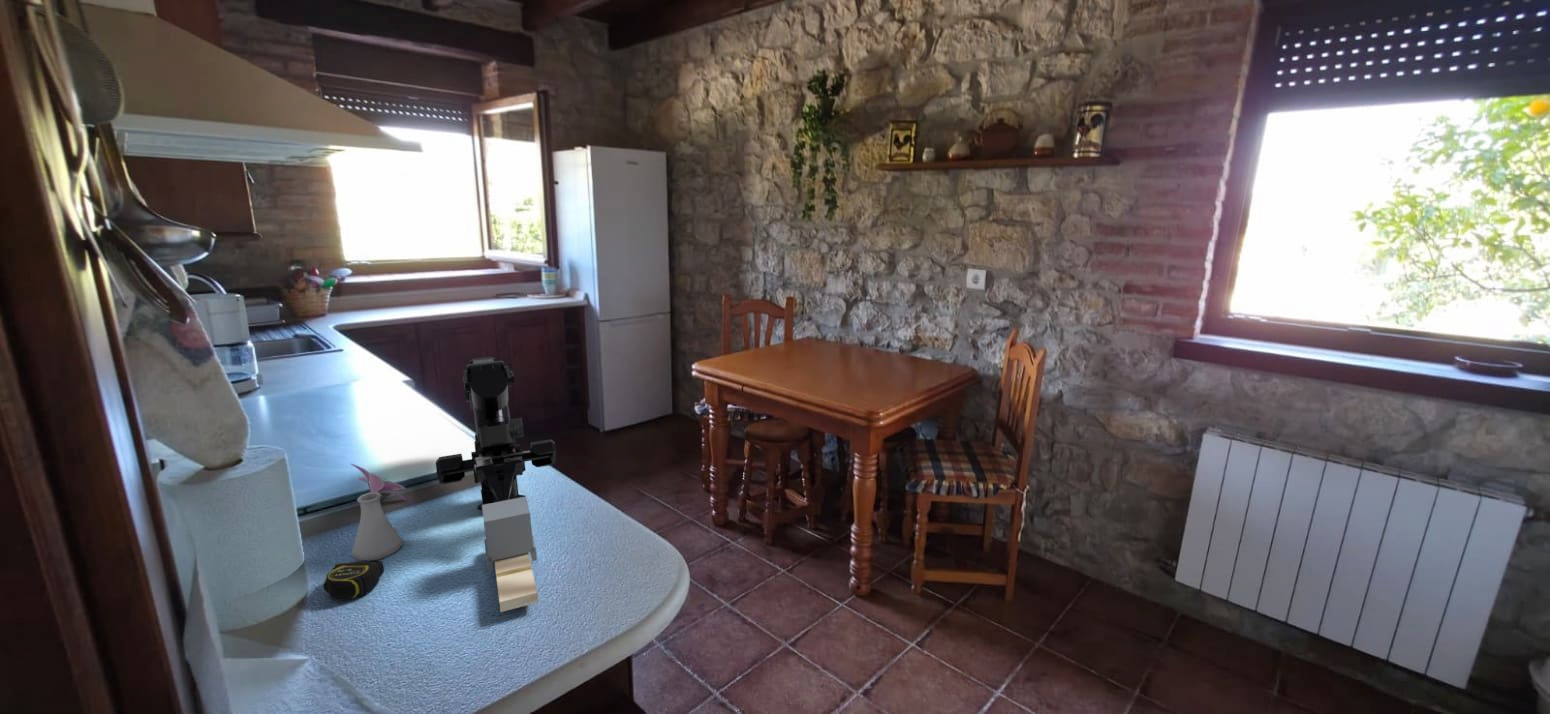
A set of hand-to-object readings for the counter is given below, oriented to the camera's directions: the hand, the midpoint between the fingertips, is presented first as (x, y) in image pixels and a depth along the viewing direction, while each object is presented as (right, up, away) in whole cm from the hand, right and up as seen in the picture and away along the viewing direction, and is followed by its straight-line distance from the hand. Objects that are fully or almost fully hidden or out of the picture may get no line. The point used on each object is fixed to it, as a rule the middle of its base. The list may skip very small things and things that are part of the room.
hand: (504, 507), depth 106 cm
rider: (+2, -7, -3) cm, 8 cm away
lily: (-31, -4, +17) cm, 35 cm away
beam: (+4, -10, -6) cm, 12 cm away
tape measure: (-19, -11, -9) cm, 24 cm away
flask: (-22, -8, +2) cm, 23 cm away
